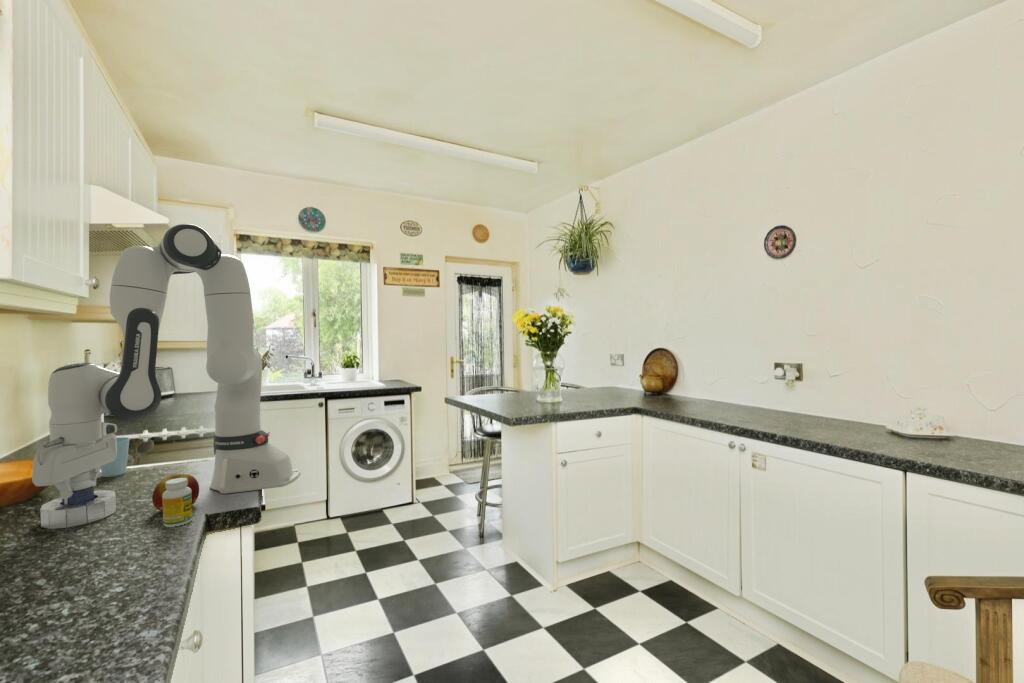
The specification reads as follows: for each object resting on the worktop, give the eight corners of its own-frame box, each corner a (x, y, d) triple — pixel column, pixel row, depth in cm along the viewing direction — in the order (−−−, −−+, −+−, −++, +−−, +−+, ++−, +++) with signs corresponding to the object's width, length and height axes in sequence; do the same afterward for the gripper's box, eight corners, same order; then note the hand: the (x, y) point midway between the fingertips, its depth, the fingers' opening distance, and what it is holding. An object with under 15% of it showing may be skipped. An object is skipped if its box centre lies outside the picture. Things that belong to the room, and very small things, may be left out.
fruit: (183, 516, 107) (181, 482, 107) (142, 518, 106) (141, 483, 106) (208, 501, 116) (206, 469, 116) (170, 502, 116) (169, 470, 116)
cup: (124, 476, 138) (122, 441, 137) (91, 479, 135) (90, 444, 135) (135, 469, 145) (133, 436, 144) (105, 472, 142) (103, 438, 142)
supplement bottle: (169, 519, 105) (168, 477, 105) (196, 516, 107) (195, 475, 106) (158, 529, 100) (156, 485, 100) (187, 526, 101) (185, 482, 101)
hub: (128, 504, 115) (127, 487, 114) (90, 526, 102) (89, 506, 102) (71, 508, 113) (70, 491, 113) (25, 530, 100) (24, 511, 100)
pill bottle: (100, 510, 110) (99, 470, 110) (77, 519, 105) (76, 477, 104) (80, 509, 110) (79, 469, 110) (56, 519, 105) (54, 476, 105)
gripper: (54, 443, 97) (57, 508, 98) (121, 423, 117) (123, 477, 118) (20, 445, 96) (23, 510, 97) (94, 424, 116) (96, 479, 117)
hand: (79, 492), depth 107 cm, fingers closed on pill bottle, 5 cm apart
